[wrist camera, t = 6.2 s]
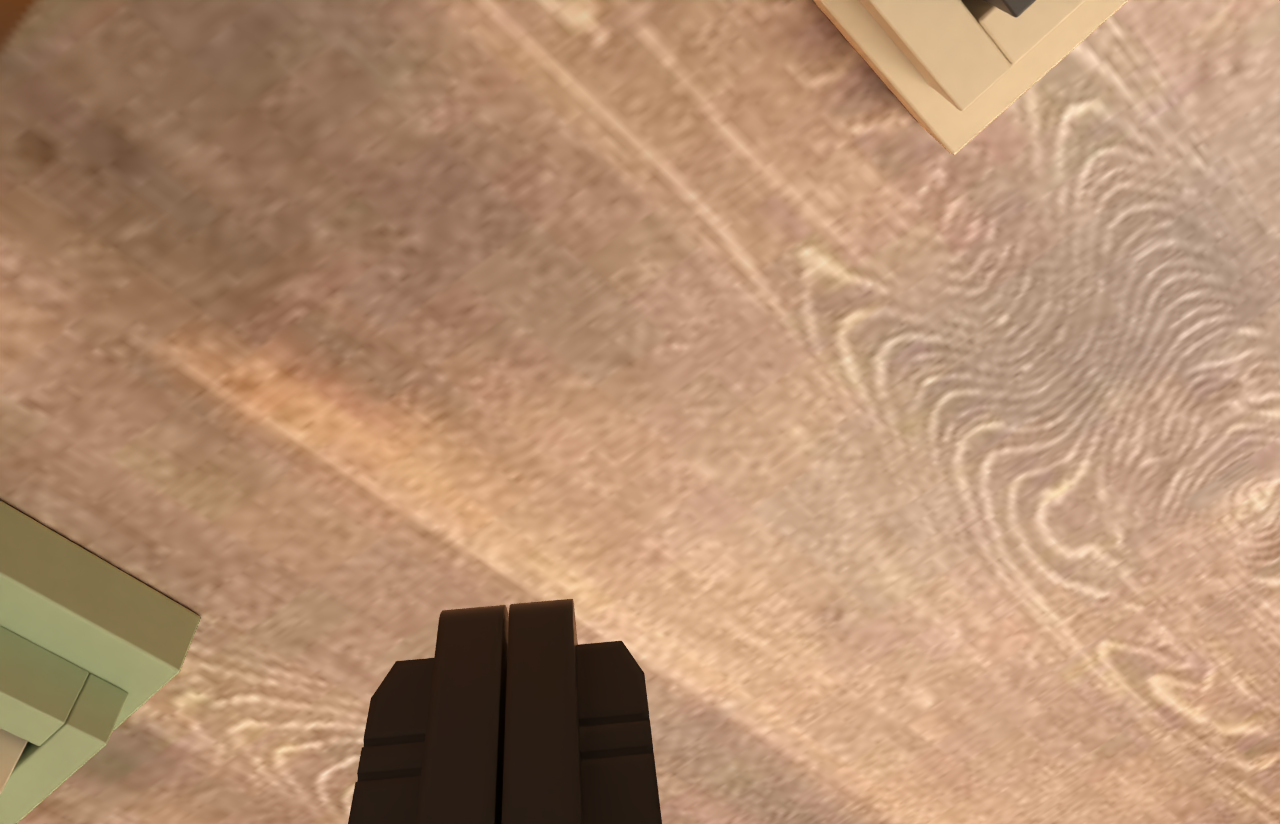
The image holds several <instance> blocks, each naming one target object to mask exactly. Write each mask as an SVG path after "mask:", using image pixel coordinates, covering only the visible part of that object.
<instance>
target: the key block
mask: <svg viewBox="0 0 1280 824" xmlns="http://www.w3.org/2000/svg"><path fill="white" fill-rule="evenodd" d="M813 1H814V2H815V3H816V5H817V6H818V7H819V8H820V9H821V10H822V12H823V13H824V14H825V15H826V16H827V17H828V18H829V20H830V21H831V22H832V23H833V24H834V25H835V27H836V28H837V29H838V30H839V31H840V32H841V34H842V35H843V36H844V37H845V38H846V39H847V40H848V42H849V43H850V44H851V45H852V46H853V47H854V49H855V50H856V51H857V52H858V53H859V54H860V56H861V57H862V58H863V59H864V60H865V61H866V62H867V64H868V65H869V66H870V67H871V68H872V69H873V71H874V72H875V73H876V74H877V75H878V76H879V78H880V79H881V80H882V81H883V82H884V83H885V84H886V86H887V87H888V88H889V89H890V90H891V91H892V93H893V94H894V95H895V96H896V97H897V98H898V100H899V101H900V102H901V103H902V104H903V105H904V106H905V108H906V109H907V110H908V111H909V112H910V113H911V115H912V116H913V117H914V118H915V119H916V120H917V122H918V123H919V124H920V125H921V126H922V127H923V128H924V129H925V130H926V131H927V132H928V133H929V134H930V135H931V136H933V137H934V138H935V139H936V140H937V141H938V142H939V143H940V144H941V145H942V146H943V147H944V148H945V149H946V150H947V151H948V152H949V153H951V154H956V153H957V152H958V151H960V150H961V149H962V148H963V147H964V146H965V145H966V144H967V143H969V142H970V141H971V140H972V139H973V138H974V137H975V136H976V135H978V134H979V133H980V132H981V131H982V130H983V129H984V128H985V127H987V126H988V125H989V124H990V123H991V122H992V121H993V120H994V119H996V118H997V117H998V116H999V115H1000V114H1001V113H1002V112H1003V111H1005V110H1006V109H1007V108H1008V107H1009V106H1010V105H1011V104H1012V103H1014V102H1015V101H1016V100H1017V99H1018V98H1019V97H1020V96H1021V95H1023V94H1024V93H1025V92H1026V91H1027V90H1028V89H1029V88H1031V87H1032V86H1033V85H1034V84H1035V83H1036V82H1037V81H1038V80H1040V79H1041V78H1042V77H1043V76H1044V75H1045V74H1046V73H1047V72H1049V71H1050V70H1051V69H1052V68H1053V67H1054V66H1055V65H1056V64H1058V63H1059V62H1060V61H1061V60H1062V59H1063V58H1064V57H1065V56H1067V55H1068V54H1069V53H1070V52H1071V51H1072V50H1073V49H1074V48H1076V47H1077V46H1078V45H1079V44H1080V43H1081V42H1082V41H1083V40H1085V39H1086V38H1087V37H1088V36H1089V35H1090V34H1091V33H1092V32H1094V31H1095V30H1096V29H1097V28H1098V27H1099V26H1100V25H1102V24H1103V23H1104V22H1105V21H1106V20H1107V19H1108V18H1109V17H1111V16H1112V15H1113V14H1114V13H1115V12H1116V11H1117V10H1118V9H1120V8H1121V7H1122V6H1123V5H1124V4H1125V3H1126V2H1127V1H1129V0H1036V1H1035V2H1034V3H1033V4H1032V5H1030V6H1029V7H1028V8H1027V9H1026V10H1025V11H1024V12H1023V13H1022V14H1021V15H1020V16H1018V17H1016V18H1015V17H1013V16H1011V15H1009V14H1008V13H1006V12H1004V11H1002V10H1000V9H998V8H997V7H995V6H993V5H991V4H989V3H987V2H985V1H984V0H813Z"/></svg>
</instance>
